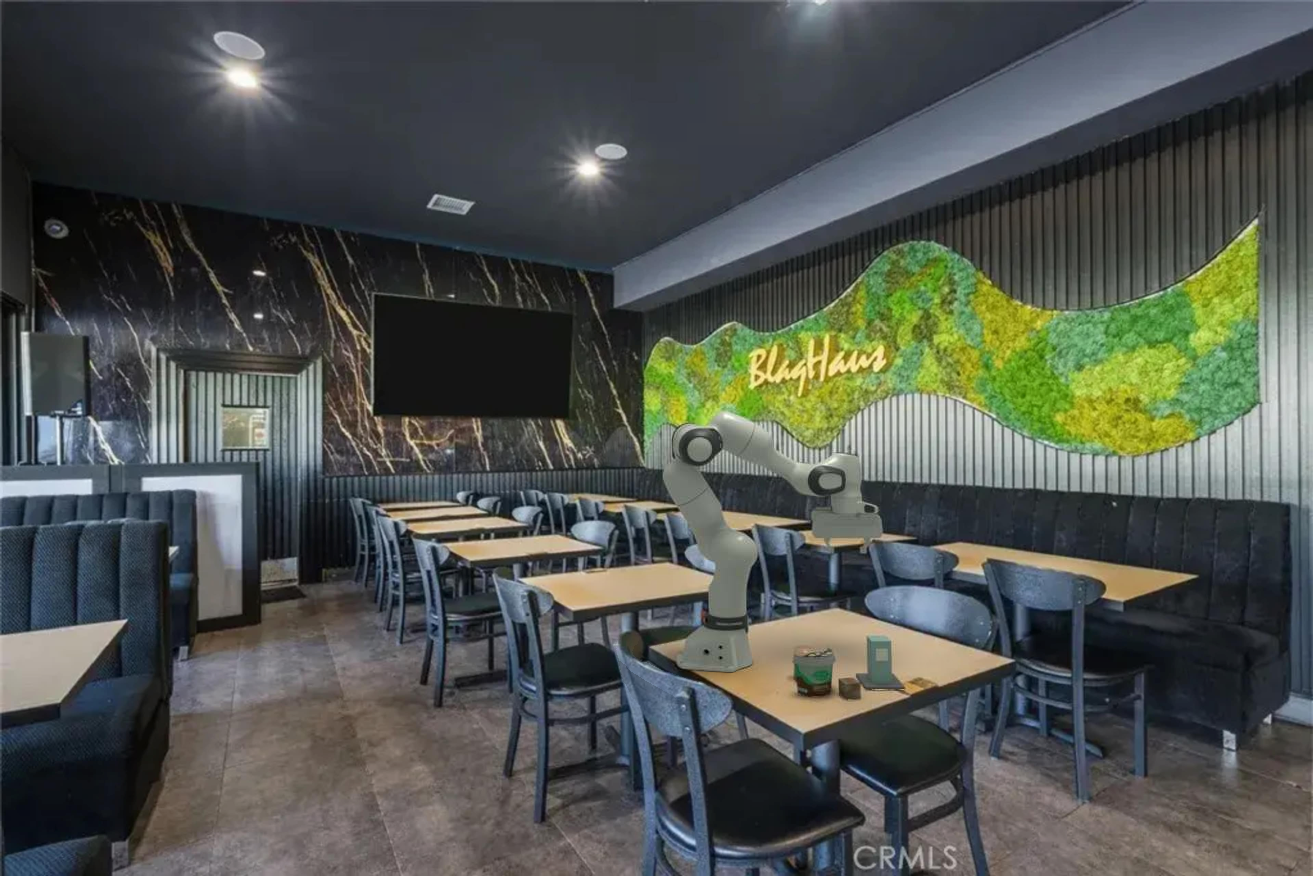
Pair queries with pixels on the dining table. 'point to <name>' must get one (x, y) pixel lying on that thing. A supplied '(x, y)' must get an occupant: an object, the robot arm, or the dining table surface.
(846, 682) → the walnut cube
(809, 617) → the dining table surface
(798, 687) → the food container
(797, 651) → the tan rounded cylinder
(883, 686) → the mat
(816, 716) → the dining table surface
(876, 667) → the tall green rectangular block
